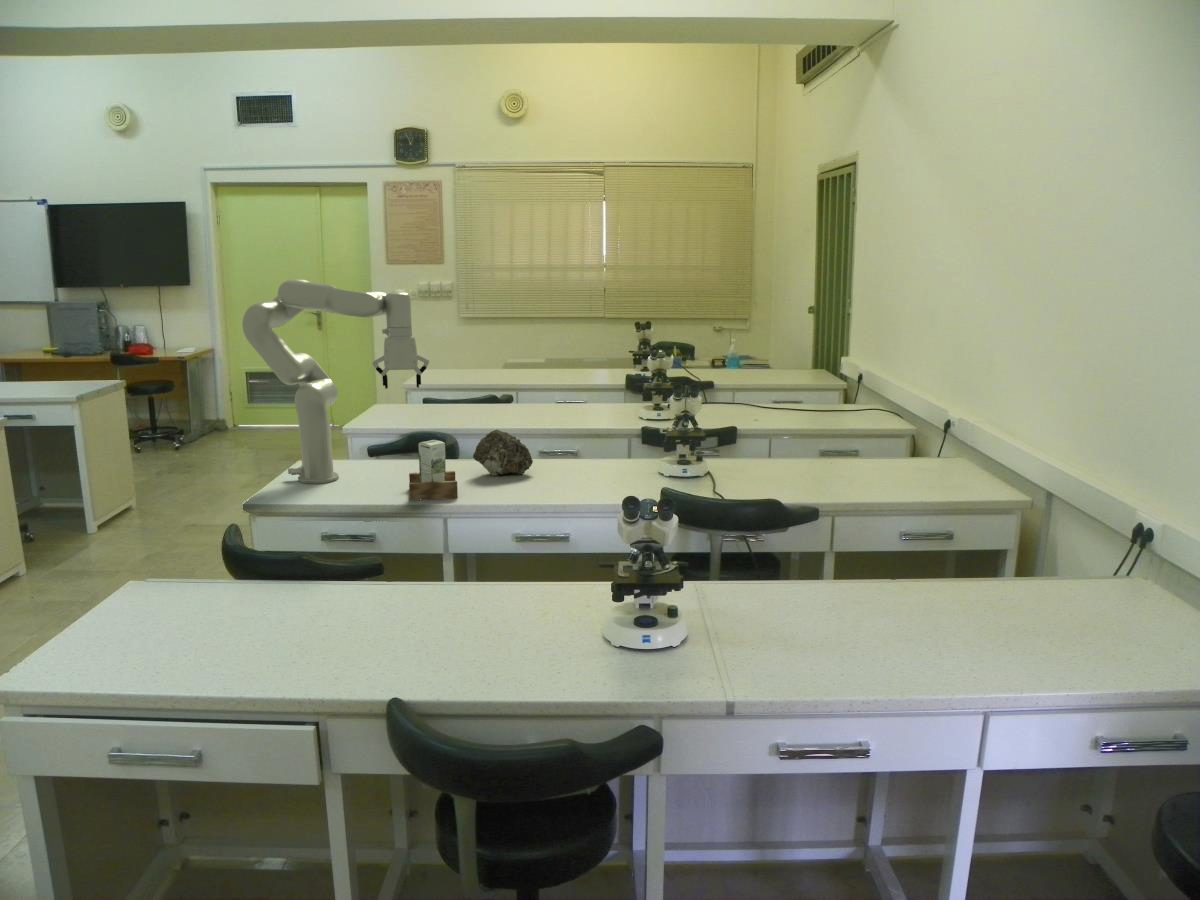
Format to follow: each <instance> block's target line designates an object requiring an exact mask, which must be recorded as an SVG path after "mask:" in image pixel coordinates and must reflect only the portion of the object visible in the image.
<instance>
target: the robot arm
mask: <svg viewBox="0 0 1200 900" xmlns="http://www.w3.org/2000/svg"><path fill="white" fill-rule="evenodd" d="M411 304H412V303H411V296H410V294H409V293H408V292H403V291H401V292H399V291H397V292H395V291H394V292H383V291H377V290H375V291H367V292H363V291H353V290H348V289H347V290H346V289H340V288H337V287H336V286H335V285H333V284H329V283H328V284H327V283H319V282H311V281H308V280H306V279H302V278H298V279H288V280H285V281H284V282H281V284H280V285H279V287H278V289H277V296H276V297H275V298H273V299H272V300H268V301H259V302H256V303H253V304H251V306H248V308H247V309H246V310H245V312H244V313H243V314H244V315H243V317H242V322H241V323H242V331H243V334H244V336H245V338H246V340H247V341H248V343H249V344H250V346H252V348H253V349H254V350H255V351H256V353H257V354H258V355H259V356H260V357H261V359H262V360H263V362H265V364H266V365H267V366H268V368H270V370H271V371H272V372H273V373H274V375H276V377H277V378H278V379H279V381H281V382H282V384H285V385H288V386H294V385H299V388H298V389H297V390H296V392H295V395H294V405H295V409H296V415H297V420H298V430H299V431H298V433H299V441H300V452H301V453H300V454H301V455H300V457H301V466H298V467H297V468H295V467H289V468H287V474H288V475H291V476H296V475H298V476H297V482H300V483H301V484H308V485H309V484H312V485H313V484H314V485H315V484H316V485H319V484H325V483H332V482H335V481H337V480H338V479H339V478H340V477H339V473H337V472H334V461H333V445H332V433H331V422H330V416H329V413H328V408H329V407H331V406H333V404H335V402H336V401H337V399H338V395H339V393H338V388H337V386H336V384H335V382H333V380H332V379H331V378H330V376H329V375H328V374H327V372H326V371H325V370H324V369H323V368H322V367H321V365H320V364H319V363H318V362H317V361H316V360H315V358H314V357H312V356H311V355H309V354H308V353H305V352H294V351H293V350H292V349H291V348H290V347H289V346H288V344H287V343H286V342H285V340H284V339H283V338H282V337H280V336H279V335H278V334H276V333H275V332H274V330H273V329H276V328H280V327H282V326H285V325H287V324H288V323H289V322H290V321H292V320H293V319H294V318H295V317H297V316H298V315H299V314H301V313H302V312H303V311H304V310H310V311H317V312H324V313H330V314H336V315H341V316H342V315H343V316H348V317H356V318H357V317H358V318H365V319H366V318H367V319H368V318H369V319H370V318H374V317H378V316H380V317H381V316H386V328H383V329H382V334H383V335H386V337H384V342H383V355H382V356H381V357H378V358H377V359H375V360H373V361H372V366H373V367H374V368H375V370H376V371H377V372H378V374H380V375H381V376H382V386H383V387H384V389H388V387H389V384H388V381H389V380H388V375H387V373H388V372H389V371H404V370H405V371H406V370H408V371H411V370H413V371H414V372H416V374H415V377H416V378H415V379H416V381H415V382H416V383H415V384H416V388H420V385H422V377H421V376H422V374H423V373H424V372H425V371H426V370H427V367H428V366H429V363H430V360H429V359H427V358H425V357H422V355H419V354H418V348H417V342H416V338H415V336H413V330H412V329H413V328H412V308H411V307H412V305H411ZM418 361H420V362H422V363H423V364H422V366H421V367H420V368H419V367H418V366H419V365H418V364H419V363H418ZM382 362H383V364H384V369H382V368H381V367H380V365H379V364H380V363H382ZM334 480H335V481H334Z"/></svg>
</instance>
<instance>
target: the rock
mask: <svg viewBox="0 0 1200 900" xmlns="http://www.w3.org/2000/svg"><path fill="white" fill-rule="evenodd" d="M472 458H473V459H474V460H475V461H476V462H478V463H479V464H480V465H482V466H483V468H484V469H485V470H486V471H487V472H488V473H490V474H491V476H497V475H498V476H500V474H501V476H503V475H509V474H510V473H515V474H516V473H517V475H520V474H522V475H523V474H525V473H526V471H527V470H529V469H530V468H531V466H533V463H534V460H533V459H532V454H531V453H530V450H529V449H528V448H527V446H526V444H523V443H522V442H521V439H519V438H517V437H516V436H515V435H514V436H513V435H512V434H510V433H509V432H505V431H504V432H503V431H502V430H499V429H495V430H492V431H489V433H487V434H486V435H485V436H484V437H482V438H480V440H479V442H478V443H477V445H476V447H475V450H474V452H473V455H472Z"/></svg>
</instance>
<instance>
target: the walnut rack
mask: <svg viewBox="0 0 1200 900" xmlns="http://www.w3.org/2000/svg"><path fill="white" fill-rule="evenodd" d="M408 474H409V475H408V477H409V478H408V479H409V482H408V483H409V484H408V488H409V489H408V491H409V501H410V500H413V501H425V500H424V499H431V500H442V499H441V498H450V499H458V497H459V496H458V495H459V494H458V481H457V480H456V470H449V471H447V470H446V481H440V482H420V472H409V473H408ZM420 499H422V500H420Z"/></svg>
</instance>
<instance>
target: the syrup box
mask: <svg viewBox="0 0 1200 900" xmlns="http://www.w3.org/2000/svg"><path fill="white" fill-rule="evenodd" d="M418 464H419V465H418V466H419V473H420V482H440V481H446V471H447V470H446V443H445V442H443V441H441V440H437V439H431V440H427V441H421V442H419V443H418Z"/></svg>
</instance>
